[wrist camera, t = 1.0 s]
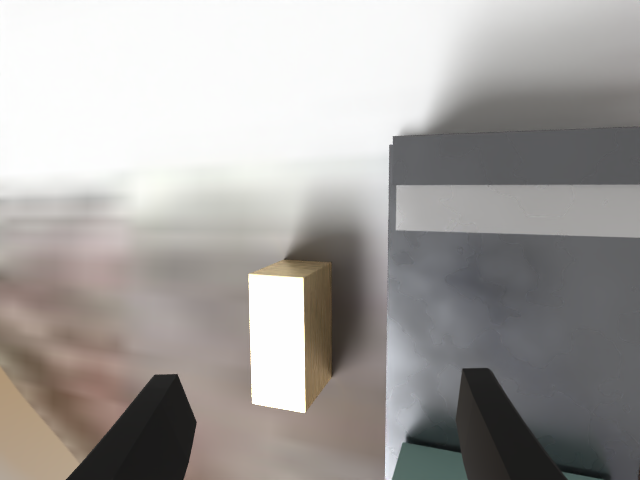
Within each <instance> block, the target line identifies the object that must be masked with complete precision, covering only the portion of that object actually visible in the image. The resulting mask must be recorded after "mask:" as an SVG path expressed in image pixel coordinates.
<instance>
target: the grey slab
mask: <svg viewBox="0 0 640 480" xmlns="http://www.w3.org/2000/svg"><path fill="white" fill-rule="evenodd" d="M462 368H489V369H490V370H491V371H492V372H493V374H494V375H495V377H496V379H497V380H498V382H499V384H500V385H501V387H502V388H503V390H504V392H505V393H506V395H507V396H508V398H509V399H510V401H511V402H512V404H513V406H514V407H515V408H516V410H517V411H518V413H519V414H520V416H521V417H522V419H523V420H524V422H525V423H526V425H527V426H528V427H529V429H530V430H531V432H532V433H533V434H534V436H535V437H536V438H537V440H538V441H539V442H540V444H541V445H542V447H543V448H544V449H545V451H546V452H547V453H548V455H549V456H550V457H551V459H552V460H553V461H554V463H555V464H556V465H557V466H558V468H559V469H560V470H561V472H566V473H571V474H576V475H582V476H587V477H593V478H598V479H603V480H638V474H639V464H640V127H620V128H594V129H569V130H543V131H517V132H491V133H465V134H440V135H414V136H393V145H389V220H388V295H387V370H386V445H385V480H392V477H393V473H394V470H395V467H396V463H397V460H398V456H399V453H400V450H401V446H402V443H403V442H405V443H410V444H415V445H421V446H426V447H431V448H437V449H442V450H448V451H453V452H458V453H461V448H460V442H459V436H458V430H457V424H456V413H457V406H458V398H459V390H460V382H461V375H462Z"/></svg>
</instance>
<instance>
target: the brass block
mask: <svg viewBox="0 0 640 480" xmlns="http://www.w3.org/2000/svg"><path fill="white" fill-rule="evenodd" d="M249 299H250V333H251V368H252V402H253V404H259V405H265V406H270V407H276V408H281V409H287V410H293V411H298V412H304V413H305V412H306V411H307V410H308V408H309V407H310V406H311V404H312V403H313V402H314V400H315V399H316V398H317V396H318V395H319V394H320V392H321V391H322V389H323V388H324V387H325V385H326V384H327V383H328V381H329V380H330V379H331V377H332V295H331V262H318V261H300V260H282V261H279V262H277V263H274V264H272V265H270V266H267V267H265V268H262V269H260V270H258V271H255V272H253V273H250V274H249Z"/></svg>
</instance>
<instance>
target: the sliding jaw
mask: <svg viewBox="0 0 640 480" xmlns="http://www.w3.org/2000/svg"><path fill="white" fill-rule="evenodd" d="M562 473H563V474H564V475H565V477H566V478H567V479H568V480H603V479H598V478H593V477H587V476H582V475H576V474H571V473H566V472H562ZM392 480H468V479H467V475H466V471H465V468H464V464H463V459H462V454H461V453H458V452H453V451H448V450H442V449H437V448H431V447H426V446H421V445H415V444H410V443H405V442H403V443H402V446H401V450H400V453H399V456H398V460H397V463H396V467H395V470H394V473H393V477H392Z"/></svg>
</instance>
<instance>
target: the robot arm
mask: <svg viewBox="0 0 640 480" xmlns="http://www.w3.org/2000/svg"><path fill="white" fill-rule="evenodd" d="M196 423H197V422H196V419H195V417H194V414H193V412H192V409H191V407H190V404H189V402H188V399H187V397H186V394H185V392H184V389H183V387H182V384H181V382H180V379H179V377H178V374H167V375H154V376H153V377H152V378H151V380H150V381H149V382H148V383H147V384H146V386H145V387H144V388H143V389H142V391H141V392H140V393H139V394H138V396H137V397H136V398H135V399H134V401H133V402H132V403H131V404H130V406H129V407H128V408H127V409H126V410H125V412H124V413H123V414H122V415H121V417H120V418H119V419H118V420H117V421H116V423H115V424H114V425H113V426H112V428H111V429H110V430H109V431H108V432H107V433H106V435H105V436H104V437H103V438H102V439H101V441H100V442H99V443H98V444H97V445H96V446H95V448H94V449H93V450H92V451H91V452H90V454H89V455H88V456H87V457H86V458H85V459H84V460H83V462H82V463H81V464H80V465H79V466H78V467H77V468H76V469H75V470H74V471H73V472H72V474H71V475H70V476H69V477H68V478H67V479H66V480H183V479H184V476H185V473H186V469H187V466H188V463H189V458H190V454H191V449H192V444H193V439H194V434H195V428H196ZM456 424H457V430H458V436H459V442H460V448H461V454H462V459H463V464H464V468H465V471H466V475H467V479H468V480H568V479H567V478H566V477H565V475H564V474H563V473H562V472H561V470H560V469H559V468H558V466H557V465H556V464H555V463H554V461H553V460H552V459H551V457H550V456H549V455H548V453H547V452H546V451H545V449H544V448H543V447H542V445H541V444H540V442H539V441H538V440H537V438H536V437H535V436H534V434H533V433H532V432H531V430H530V429H529V427H528V426H527V425H526V423H525V422H524V420H523V419H522V417H521V416H520V414H519V413H518V411H517V410H516V408H515V407H514V406H513V404H512V402H511V401H510V399H509V398H508V396H507V395H506V393H505V392H504V390H503V388H502V387H501V385H500V384H499V382H498V380H497V379H496V377H495V375H494V374H493V372H492V371H491V370H490V369H489V368H462V375H461V382H460V390H459V398H458V406H457V413H456Z"/></svg>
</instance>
